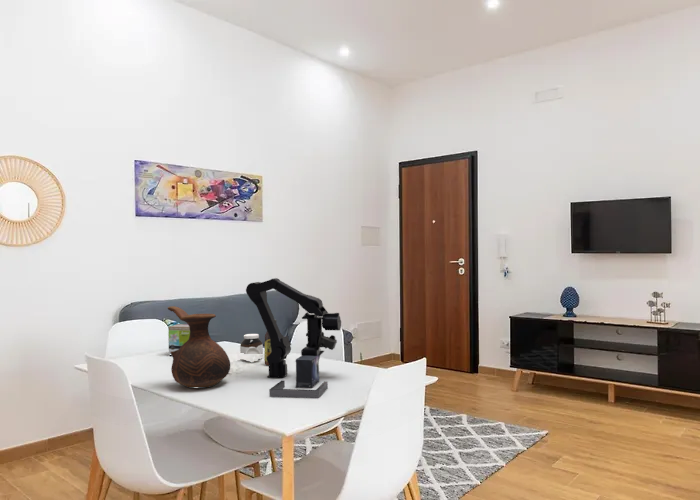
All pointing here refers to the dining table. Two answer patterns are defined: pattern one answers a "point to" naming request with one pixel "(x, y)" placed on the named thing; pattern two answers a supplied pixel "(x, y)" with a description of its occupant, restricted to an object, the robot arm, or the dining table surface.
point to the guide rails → (297, 391)
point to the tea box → (178, 336)
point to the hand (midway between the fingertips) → (315, 369)
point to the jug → (198, 354)
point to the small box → (307, 371)
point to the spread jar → (251, 344)
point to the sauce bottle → (267, 348)
